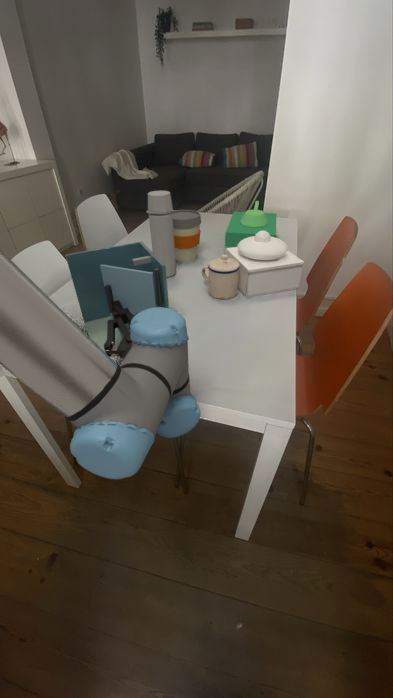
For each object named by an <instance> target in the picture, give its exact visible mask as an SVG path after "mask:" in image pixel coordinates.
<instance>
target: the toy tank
mask: <svg viewBox="0 0 393 698" xmlns="http://www.w3.org/2000/svg"><path fill="white" fill-rule="evenodd" d="M259 204H260V201H259V200H255V202H254V208H253V209H247V210H246V211H233V213H232V216H231V217H230V220H229V223H228V225H227V227H226V231H225V235H224V236H225V237H224V238H225V239H224V247H226V248H232V247H237V246H238V243H239V242H240V241H241V240H243V239H245V238H248V237H252V236H255V235H256V234H257V233H258V232H259V231H266V232H268V233H269V234H270V236H271V237H275V238H277V213H274V212H264V211H263V210H261V209H259V207H260V206H259ZM226 248H225V249H226Z"/></svg>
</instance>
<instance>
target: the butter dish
mask: <svg viewBox="0 0 393 698" xmlns="http://www.w3.org/2000/svg"><path fill="white" fill-rule="evenodd" d="M224 254H226V255H227V256H228V258H230V259H234V260H236V261H237V262H238V263H239V265H240V268H239V274H238V289H237V290H238V291H239V292H240V293H241V294H242V295H243V297H244V298H253V297H259V296H264V295H270V294H275V293H283V292H288V291H294V290H299V288H300V282H301V277H302V272H303V268H304V265H305V261H304V260H302V259H301V258H299V257H298V256H296V255H295V254H294V253H292V252H291V251H289V246H288V245H287V243H286V242H285V241H284V240H281V239H280V238H277V237H276V238H275V237H271V236H270V234H269V233H268V232H266V231H259V232H258V233H257V234H256V235H255V236H252V237H248V238H245V239H243V240H241V241H240V242H239V243H238V246H237V247H232V248H225V250H224Z"/></svg>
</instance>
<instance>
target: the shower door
mask: <svg viewBox="0 0 393 698" xmlns="http://www.w3.org/2000/svg"><path fill="white" fill-rule="evenodd" d="M100 268H101V273H102V277H103V282H104V288H105V293H106V297H107V302H108V306H109V311H110V314H111V319H112V320H114V319H113V315H112V312H113V311H114V306H113V301H117V300H119V301H120V303H121V305H122V307H123V309H125V308H128V309H129V311H130V312H131V313H132V314H133V315H136V313H138V312H141V311H143V310H146V309H149V308H154V307H157V304H156V295H155V286H154V277H153V272H146V271H140V270H134V269H127V268H121V267H114V266H108V265H100ZM125 326H126V328H128V329H130V326H129V324H128V323H127V324H125Z"/></svg>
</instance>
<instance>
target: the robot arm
mask: <svg viewBox="0 0 393 698" xmlns="http://www.w3.org/2000/svg"><path fill="white" fill-rule="evenodd" d="M113 306H114V311H113V312H112V315H113V319H114V320H112V319H110V320H108V321H107V341H106V342H105V344H104V350H105V352H104V351H103V350H102V349H101V348H100V347H99V346H98V345H97V344H96V343H95V342H94V341H93V340H92V339H91V338H90V337H89V335H88V333H86V332H85V331H84V330H83V329H82V328H81V327H80V326H79V325H78V324H77V323H76V322H75V321H73V320H72V318H71V317H70V316H69V315H68V314H66V312H65V311H64V310H63V309H62V308H61V307H59V305H57V304H56V302H55V301H53V299H52V298H50V296H48V295H47V293H45V292H44V290H42V288H40V287H39V286H38V285H37V284H36V283H35V282H34V281H33V280H32V278H30V276H28V275H27V274H26V273H25V272H24V271H23V270H22V269H20V267H19V266H18V265H17V264H16V263H15V262H13V260H11V258H9V256H8V255H7V254H6V253H5V252H3V250H1V249H0V366H2V367H3V368H4V369H5V370H6V371H8V372H9V373H10V374H11V375H13V377H15V378H16V379H17V380H18V381H20V382H21V383H23V384H24V385H25V386H26V387H27V388H29V390H31V391H32V392H33V393H34V394H35V395H37V396H38V397H39V398H41V399H42V400H43V401H45V403H47V404H48V405H49V406H50V407H51V408H53V409H55V410H56V411H57V412H58V413H59V414H60V415H62V416H63V417H64V418H65V419H67V420H68V421H69V422H70V423H71V424H72V425H73V426H74V427H75V428H76V429H75V430H74V432H73V437H72V439H70V440H71V441H70V443H69V450H70V453H71V455H72V457H74V458H76V462H77V464H79V466H81V467H82V468H83V469H85V470H86V471H88V472H90V473H92V474H94V475H96V476H99V477H101V478H105V479H109V480H123V479H125V478H130V477H133V476H134V475H135V474H136V473H138V471H139V470H140V469H141V467H142V465H143V463H144V462H145V459H146V457H147V456H148V454H149V451H150V449H151V447H152V445H153V444H154V443H155V438H156V435H159V436H160V437H162V438H167V439H175V438H176V439H177V438H179V437H181V436H183V435H186V434H188V433H189V432H190V431H192V430H193V429H194V428H195V427H196V426H197V424H198V423H199V420H200V418H201V408H200V406H199V404H198V401H197V398H196V397H195V395H194V396H193V394H192V390H191V379H190V367H189V366H190V365H189V335H188V329H187V321H186V319H185V317H184V315H183V314H182V313H180V312H179V311H178V310H175V309H173V308H170V307H169V308H163V307H154V308H149V309H146V310H143V311H141V312H138V313H136V315H133V314H132V313H131V312H130V311H129V309H128V308H125V309H123V307H122V305H121V303H120V301H119V300H117V301H113ZM127 323H128V324H129V326H130V330H131V334H130V332H129V330H127V328H126V326H125V324H127ZM115 328H118V330H119V332H120V334H121V336H122V338H123V339H122V341H121V343H120V344H119V346H118V347H117V346H116V344H115ZM112 354H116V355H117V356H118V357H119V358H120V359H122V361H121V363H120V364H118V363H116V362H115V361H114V360H113V359H112V358H111V357H112V356H113V355H112Z"/></svg>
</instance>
